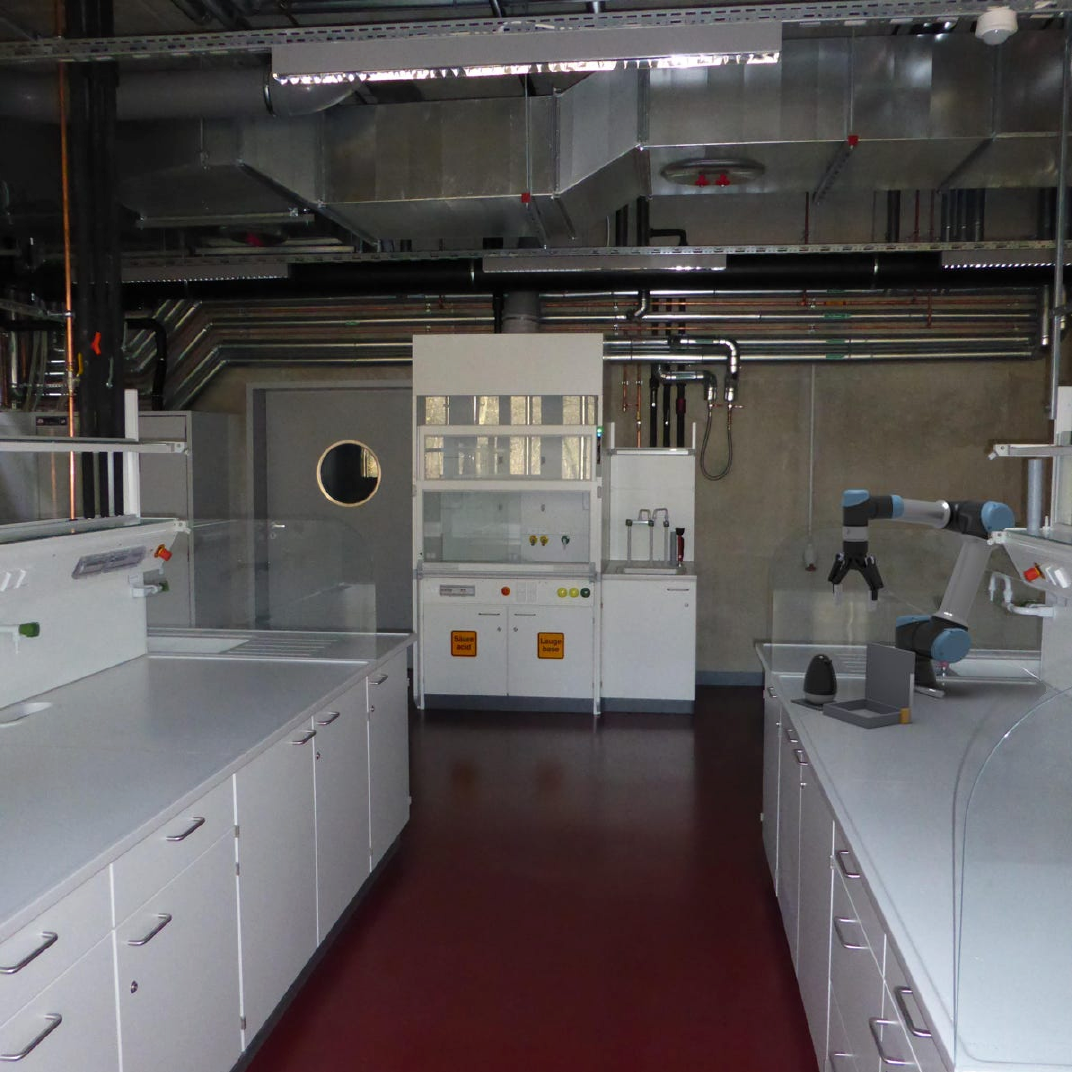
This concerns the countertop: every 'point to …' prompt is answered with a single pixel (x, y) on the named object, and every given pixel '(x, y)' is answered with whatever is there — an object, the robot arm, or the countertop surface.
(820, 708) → the pad
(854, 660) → the countertop surface
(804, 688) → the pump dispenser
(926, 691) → the rod
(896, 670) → the case
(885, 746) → the countertop surface
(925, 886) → the countertop surface
